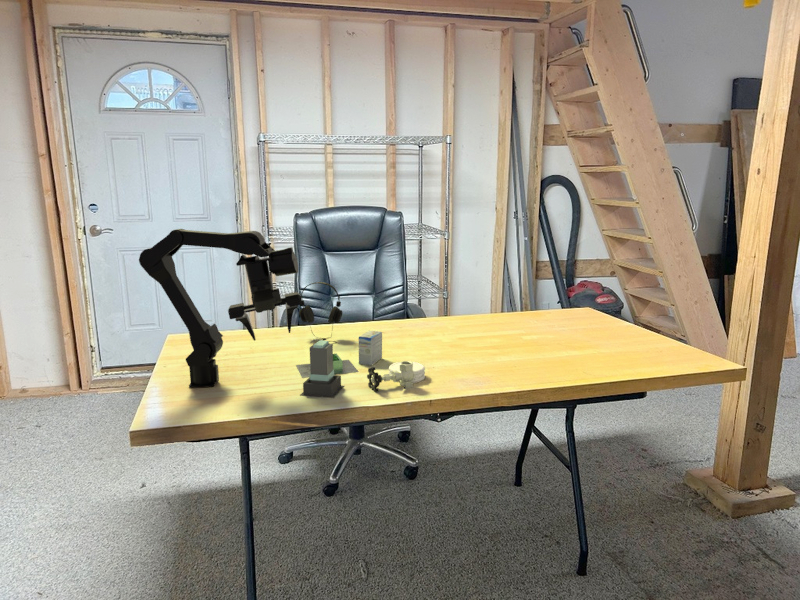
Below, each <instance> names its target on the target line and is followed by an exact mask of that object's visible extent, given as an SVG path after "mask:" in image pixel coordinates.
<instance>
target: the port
mask: <svg viewBox="0 0 800 600" xmlns="http://www.w3.org/2000/svg"><path fill="white" fill-rule="evenodd" d="M295 367H296V368H297V371H298V373H299V375H300V377H301V378H302V379H308V378H310V374H311V372H310V363H304V364H303V363H302V364H295ZM333 370H334V375H343V374H351V373H359V371H358V369H357V367H356V366H355V365H354V364H353V363H352V362H351V360H349V359H342V358H341V357H340V356H339V354H338V353H333Z"/></svg>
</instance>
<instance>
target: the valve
mask: <svg viewBox="0 0 800 600" xmlns="http://www.w3.org/2000/svg"><path fill="white" fill-rule="evenodd" d="M399 362H400V371H399V372H398V371H392V374H390V375H389V373H386V374H384V375H381V374H379V373H378V372H375V371H376V367H375V366H373V367H372V366H371V367H370V368H367V372H368V374H367V375H366V378H367V380H368V383H367V386H368V388H370V390H371V391H373V392H375V393H376V392H379V390H380V389H379V386H380V384H381V383H382V382H390V381H392V382H393V383H398V382H399V386H403V389H407V390H408V389H413V387H414V385H413V384H414V383H413V379H414V371H413V362H414V361H410V360H402V361H399ZM399 380H400V381H399Z"/></svg>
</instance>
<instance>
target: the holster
mask: <svg viewBox="0 0 800 600" xmlns="http://www.w3.org/2000/svg"><path fill="white" fill-rule="evenodd" d="M344 387H345V385H342V376H341V375H340V374H335V375H334V381H333V382H332V383H331V384H318V383H311V380H310V377H308V378H306V380H305V381H303V382H302V389H303V391H302V392H301V393H300V394H299V396H303V397H313V398H325V399H327V398H328V399H335V397H336V396H338V394H339V393H340V392H341V391H342V390H343V388H344Z"/></svg>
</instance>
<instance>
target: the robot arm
mask: <svg viewBox="0 0 800 600" xmlns="http://www.w3.org/2000/svg"><path fill="white" fill-rule="evenodd" d="M183 246H188V247H189V246H191V247H201V248H202V247H204V248H215V249H225V250H228V251H231V252H235V253H238V254H242V255H241V256H240V257H239V260H238V261H237V262H236V264H235V265H236V266H237V267H239V266H243V265H244V267H245V271H246V272H245V273H246V276H247V280H248V285H249V289H250V294H251V298H250V299H251V302H252V303H251V304H246V305H245V304H244V302H241V303H235V304H231V305H230V306H229V307H228V309H227V312H228V316H229V320H234V319H235V321H236V322H241V324H243V326H244V327H245V329H246V330H247V332H248V334H249V335H250V336H251V338H252V340H253V341H254V342H255V341H256V340H257V339H256V335H255V332H254V329H253V326H252V322H251V321H250V317H249V314H248V313H251V312H255V313H258V314H259V313H263V312H265V311H273V310H275V308H276V307H278V306H285V312H286V325H287V331H288V334H289V333H290V334H291V327H292V321H293V320H292V319H293V315H294V311H295V310H297V309H298V308H299V307H298V306H300V305H301V304H302V299H301V294H300V293H299V292H298V291H295V292H294V291H293V292H289V293H285V294H284V297H282V296H281V294H280V289H279V288H274V287H273V282H272V277H271V274H272V275H275V277H281V276H286V275H293V274H298V273H299V262H298V258H297V257H296V254H295V252H294V249H293V247H292V246H291V247H287V248H283V249H279V250H278V249H277V250H275V249H274V248H272V247H271V246H270V245H269V244H268V243H267V242H266V241H265V238H264V235H263V234H261V232H260V231H257V230H248V231H247V230H246V231H239V232H217V231H203V230H201V231H200V230H192V229H191V230H189V229H184V228H176V229H173V230H171V231H170V232H169V233H168V234H167V235H166V236H165V237H164V238H163V239H161V240H160V241H158V242H157V243H156V244H154V245H153V246H152V247H149V248H146V249H144V250H142V252H141V253H140V254H139V259H138V262H139V265H140V266H141V268H142V269H143V270H144V271H145V273H147V275H148V276H150V278H151V279H152V278H153V280H155V281H156V282H157V283H159V285H160V286H161V288H162V290H163V291H164V292H165V295H166V296H167V298H168V299H169V301H170V302H171V305H172V306H173V307H174V309H175V311H176V313H177V314H178V316H179V317H180V319H181V321H182V322H183V323H184V326H185V327H186V329H187V331H188V335H189V340H190V343H191V347H192V349H193V351H192V352H190V354H188V356H186V358H185V362H186V364H187V366H188V367H189V378H190V383H189V384H188V387H189V388H203V387H204V388H205V387H206V388H207V387H208V388H209V387H214V386H215V385H216V384H217V382H218V381H219V379H220V375H219V373H220V372H219V365H218V364H217V361H216V357H217V353H218V352H220V351H221V349H222V348H223V344H224V341H223V337H224V335H223V334H222V333H221V332H220V330H219V329H218V326H217V324H216V323H213V324H211V325H210V324H208V323H207V322H206V321H205V319H203V316H202V314H201V313H200V311H199V310H198V308H197V307H196V304H194V301H193V300H192V299H191V297H190V295H189V293H188V292H187V290H186V289H185V287H184V285H183V284H182V282H181V281H180V278H179V277H178V275H177V270H176V265H175V262H174V259H173V257H174V255H176V253H178V251H179V250H180V249H181V248H182V247H183ZM247 256H248V257H247Z"/></svg>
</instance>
